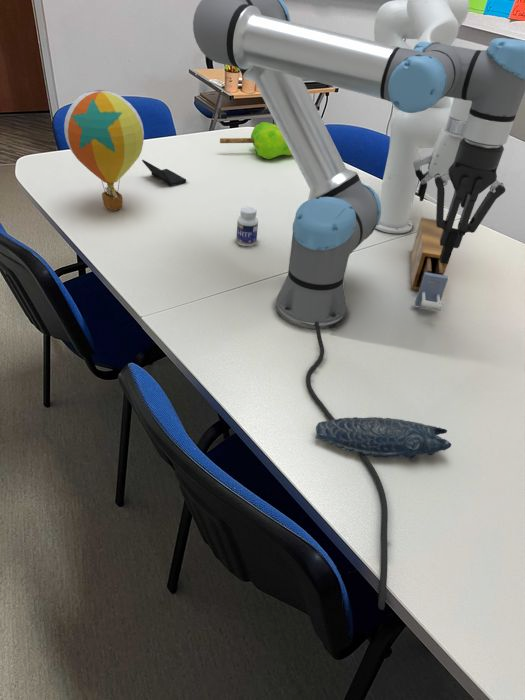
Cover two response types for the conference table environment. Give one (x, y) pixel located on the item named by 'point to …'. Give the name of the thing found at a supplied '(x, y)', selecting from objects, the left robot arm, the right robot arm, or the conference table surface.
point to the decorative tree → (264, 141)
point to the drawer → (431, 284)
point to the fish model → (382, 436)
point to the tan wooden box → (425, 248)
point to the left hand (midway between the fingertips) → (443, 260)
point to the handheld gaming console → (165, 175)
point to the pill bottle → (247, 227)
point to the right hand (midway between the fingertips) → (441, 202)
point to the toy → (105, 138)
